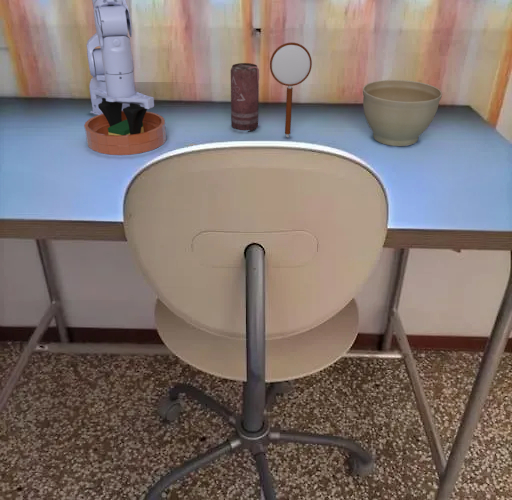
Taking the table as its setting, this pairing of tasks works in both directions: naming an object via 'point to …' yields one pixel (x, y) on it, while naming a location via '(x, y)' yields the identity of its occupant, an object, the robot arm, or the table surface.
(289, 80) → the magnifying glass
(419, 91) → the planter bowl
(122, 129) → the sponge
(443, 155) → the table surface
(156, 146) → the bowl
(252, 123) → the can
